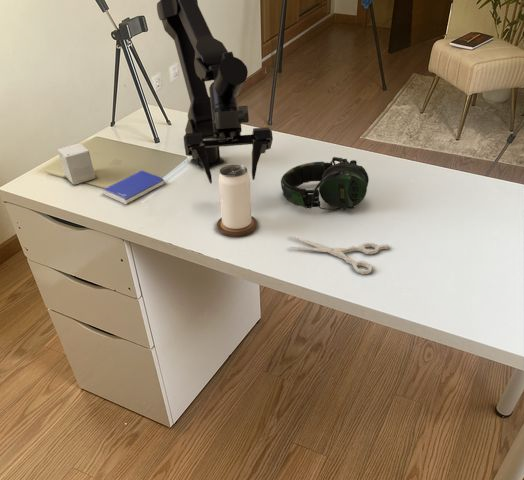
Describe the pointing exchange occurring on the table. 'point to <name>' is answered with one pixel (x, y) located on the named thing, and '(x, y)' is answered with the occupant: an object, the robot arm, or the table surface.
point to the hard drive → (133, 187)
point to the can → (235, 196)
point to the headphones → (326, 184)
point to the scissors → (341, 251)
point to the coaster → (237, 232)
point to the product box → (77, 163)
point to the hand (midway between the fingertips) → (232, 181)
